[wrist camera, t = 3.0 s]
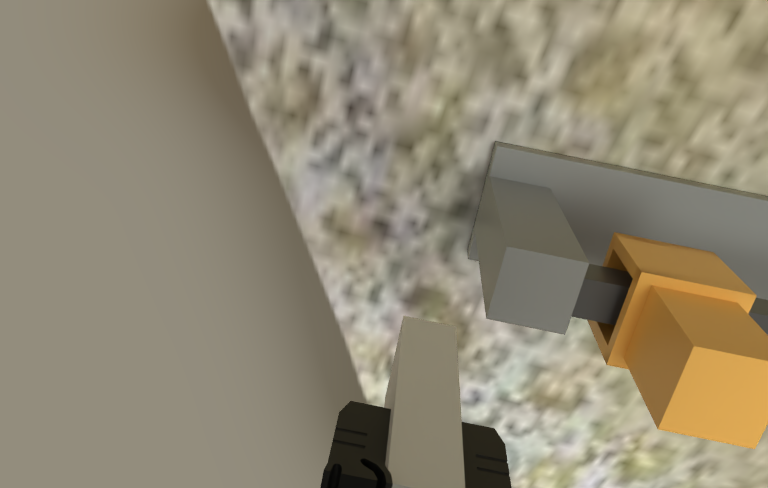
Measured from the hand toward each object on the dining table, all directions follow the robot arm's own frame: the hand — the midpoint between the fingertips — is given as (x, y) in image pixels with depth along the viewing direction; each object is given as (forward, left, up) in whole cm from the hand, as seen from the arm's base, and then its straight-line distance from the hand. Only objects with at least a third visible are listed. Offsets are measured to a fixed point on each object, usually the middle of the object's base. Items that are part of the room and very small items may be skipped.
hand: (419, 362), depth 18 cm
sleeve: (0, +9, -9) cm, 13 cm away
